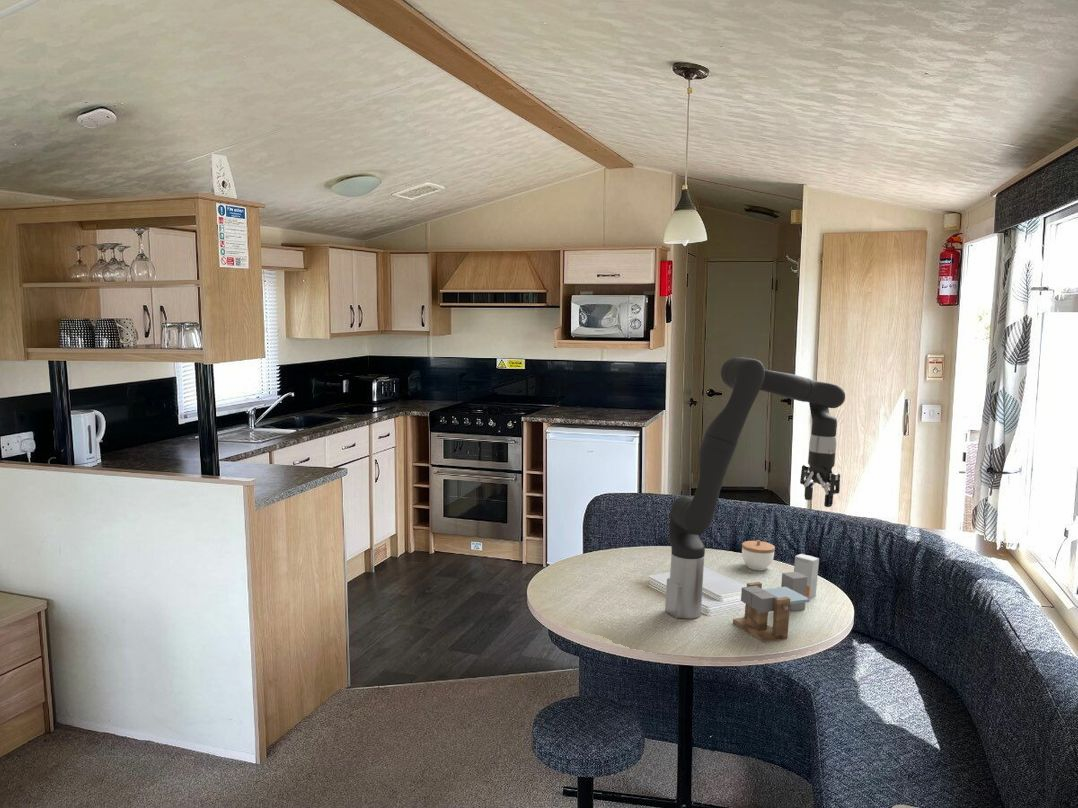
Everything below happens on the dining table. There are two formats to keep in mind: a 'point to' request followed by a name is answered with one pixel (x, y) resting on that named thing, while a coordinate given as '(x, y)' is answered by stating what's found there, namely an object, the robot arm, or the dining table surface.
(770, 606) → the trapdoor
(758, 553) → the lidded jar
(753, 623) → the trapdoor frame
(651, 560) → the dining table surface
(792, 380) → the robot arm
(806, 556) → the skincare box
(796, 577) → the basalt block
